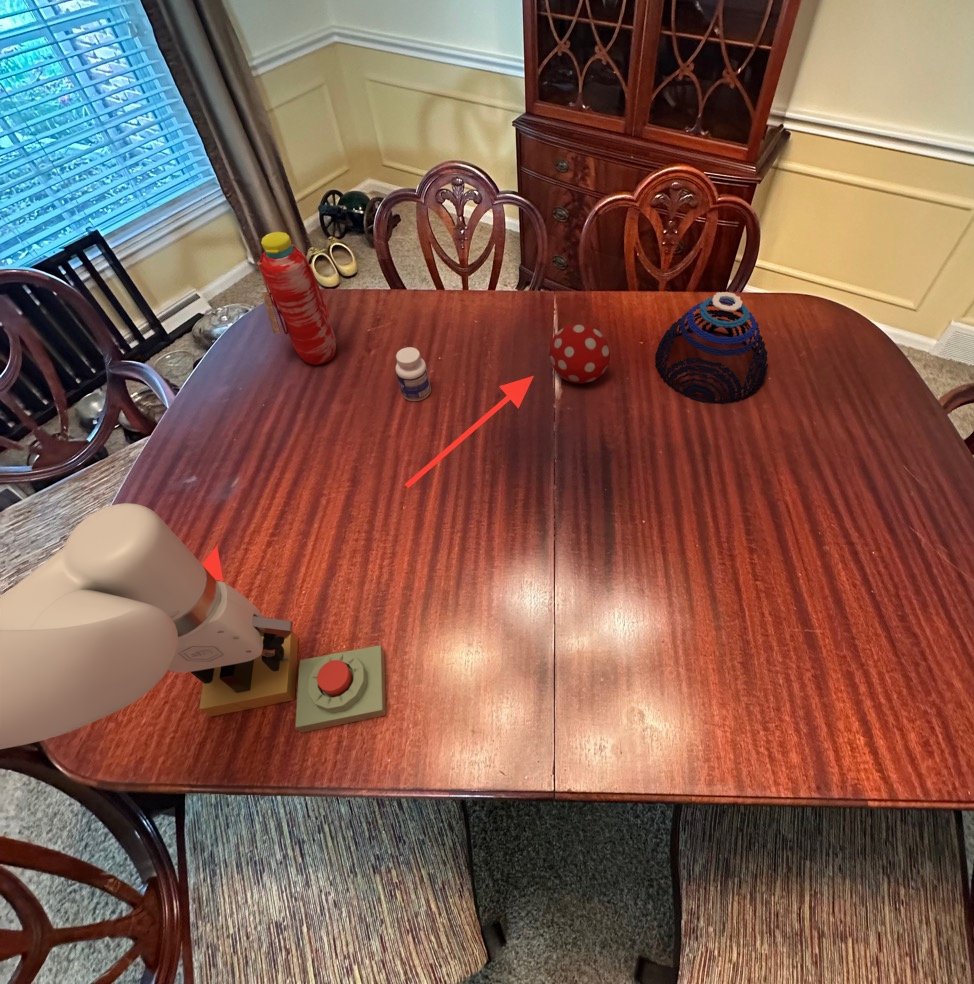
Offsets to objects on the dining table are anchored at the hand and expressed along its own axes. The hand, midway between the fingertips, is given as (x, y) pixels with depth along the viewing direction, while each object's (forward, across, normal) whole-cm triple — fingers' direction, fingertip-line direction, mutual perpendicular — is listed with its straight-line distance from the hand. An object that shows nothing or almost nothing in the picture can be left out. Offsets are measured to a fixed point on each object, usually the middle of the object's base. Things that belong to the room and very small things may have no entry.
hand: (244, 664), depth 73 cm
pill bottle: (+4, +22, +47) cm, 52 cm away
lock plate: (+4, 0, 0) cm, 4 cm away
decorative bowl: (+4, +76, +44) cm, 88 cm away
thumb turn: (+1, 0, 0) cm, 1 cm away
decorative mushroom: (+4, +52, +49) cm, 72 cm away
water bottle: (+4, +3, +61) cm, 61 cm away
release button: (0, +11, -4) cm, 12 cm away
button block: (+4, +11, -4) cm, 12 cm away
